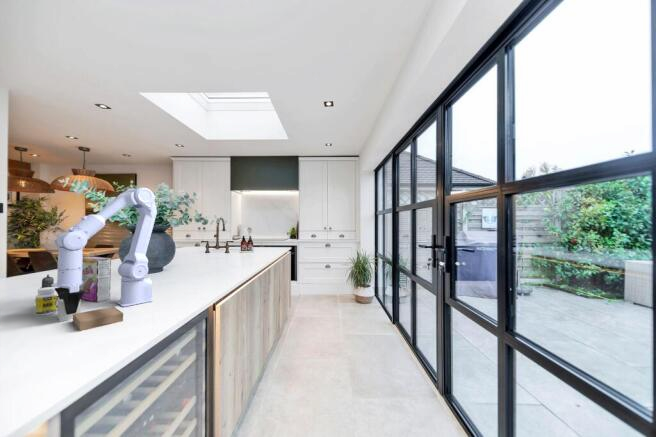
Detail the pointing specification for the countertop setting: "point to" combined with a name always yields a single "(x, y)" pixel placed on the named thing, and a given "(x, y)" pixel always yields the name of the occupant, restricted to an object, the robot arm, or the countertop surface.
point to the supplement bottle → (45, 301)
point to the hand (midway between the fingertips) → (68, 311)
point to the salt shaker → (48, 284)
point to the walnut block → (97, 318)
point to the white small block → (62, 313)
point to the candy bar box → (96, 279)
